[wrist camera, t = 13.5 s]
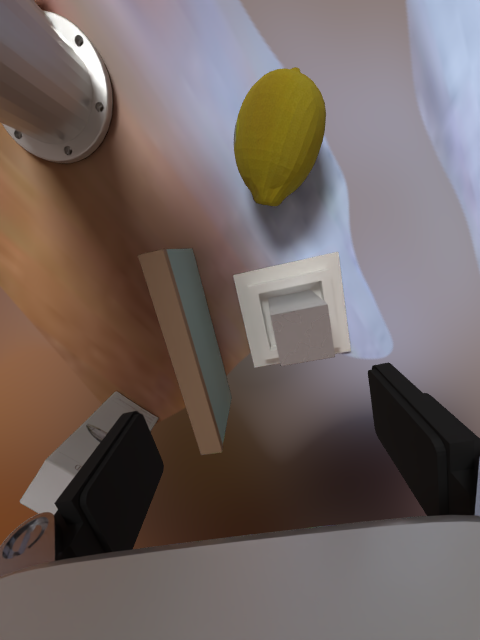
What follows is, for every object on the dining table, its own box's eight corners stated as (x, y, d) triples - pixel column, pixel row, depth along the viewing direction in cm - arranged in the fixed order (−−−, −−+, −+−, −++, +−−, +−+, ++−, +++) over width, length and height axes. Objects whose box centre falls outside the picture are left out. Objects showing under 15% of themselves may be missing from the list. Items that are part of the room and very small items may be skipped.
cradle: (233, 274, 31) (231, 276, 29) (336, 251, 29) (342, 252, 27) (254, 366, 34) (254, 373, 32) (349, 349, 32) (355, 356, 30)
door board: (175, 252, 31) (137, 255, 21) (193, 248, 30) (162, 248, 21) (216, 399, 35) (201, 454, 26) (232, 397, 35) (222, 452, 26)
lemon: (259, 82, 26) (258, 12, 18) (332, 113, 26) (362, 56, 18) (222, 195, 29) (207, 177, 21) (288, 222, 29) (297, 213, 21)
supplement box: (160, 416, 37) (112, 499, 25) (136, 450, 39) (79, 541, 27) (116, 388, 36) (44, 459, 24) (93, 423, 38) (15, 505, 26)
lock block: (268, 298, 31) (270, 315, 23) (310, 289, 30) (327, 304, 22) (275, 337, 32) (280, 366, 24) (316, 329, 31) (335, 357, 24)
